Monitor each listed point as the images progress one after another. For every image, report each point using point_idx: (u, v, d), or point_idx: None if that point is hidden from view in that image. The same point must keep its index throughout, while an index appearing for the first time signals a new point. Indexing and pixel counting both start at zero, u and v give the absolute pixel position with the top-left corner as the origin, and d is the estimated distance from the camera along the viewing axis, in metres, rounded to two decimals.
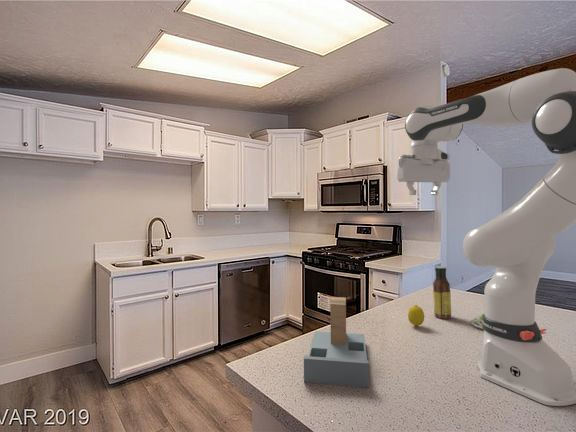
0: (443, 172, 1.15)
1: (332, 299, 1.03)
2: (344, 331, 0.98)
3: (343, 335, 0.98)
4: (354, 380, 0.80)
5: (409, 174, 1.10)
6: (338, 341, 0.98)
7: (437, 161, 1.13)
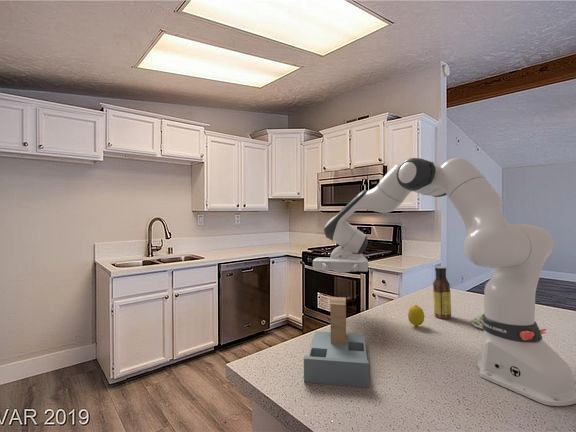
0: (359, 260, 1.20)
1: (332, 299, 1.03)
2: (344, 331, 0.98)
3: (343, 335, 0.98)
4: (354, 380, 0.80)
5: (319, 259, 1.22)
6: (338, 341, 0.98)
7: (349, 255, 1.24)
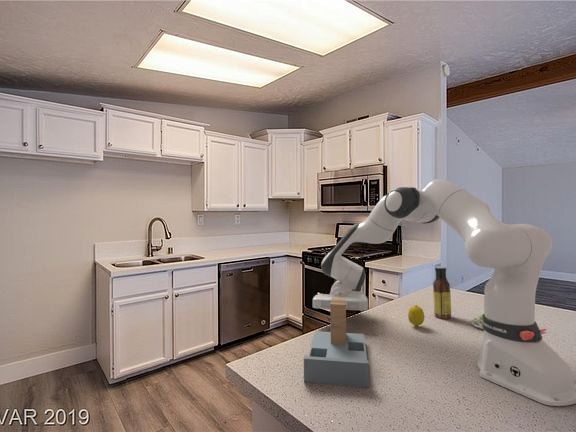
0: (359, 298, 1.20)
1: (332, 299, 1.03)
2: (344, 331, 0.98)
3: (343, 335, 0.98)
4: (354, 380, 0.80)
5: (319, 297, 1.23)
6: (338, 341, 0.98)
7: (349, 293, 1.25)
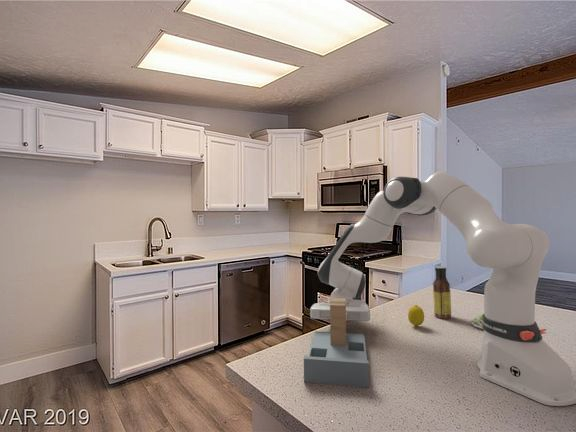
0: (360, 307, 1.11)
1: (332, 300, 1.02)
2: (344, 332, 0.97)
3: (342, 336, 0.97)
4: (354, 380, 0.80)
5: (317, 306, 1.14)
6: (338, 342, 0.97)
7: (350, 301, 1.16)
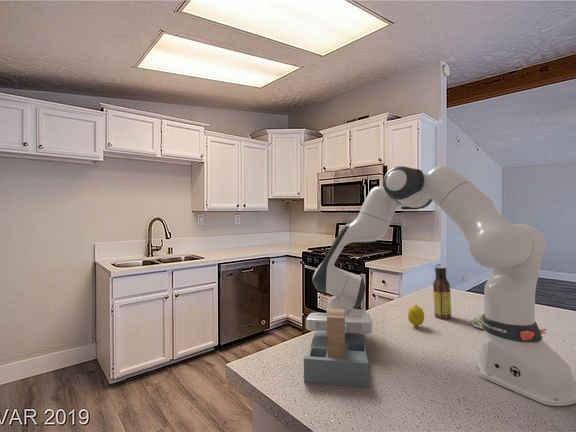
0: (361, 318, 1.01)
1: (329, 311, 0.92)
2: (343, 348, 0.86)
3: (341, 353, 0.86)
4: (354, 380, 0.80)
5: (313, 317, 1.03)
6: None
7: (349, 311, 1.05)
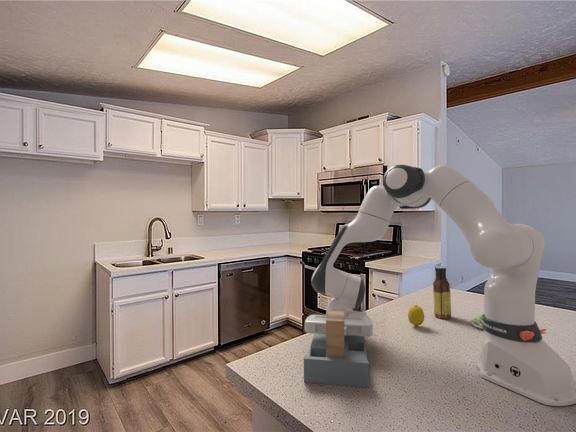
0: (361, 321, 0.98)
1: (328, 314, 0.89)
2: (342, 352, 0.84)
3: (340, 357, 0.84)
4: (354, 380, 0.80)
5: (312, 319, 1.00)
6: None
7: (349, 313, 1.03)
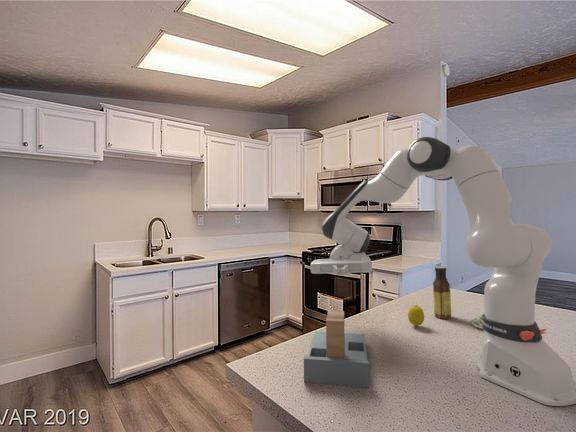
0: (361, 260, 1.09)
1: (328, 314, 0.89)
2: (342, 352, 0.84)
3: (340, 357, 0.84)
4: (354, 380, 0.80)
5: (317, 261, 1.11)
6: None
7: (350, 255, 1.13)
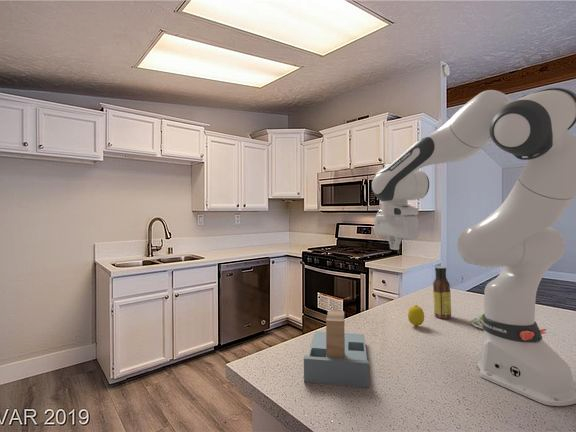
0: (403, 228, 1.07)
1: (328, 314, 0.89)
2: (342, 352, 0.84)
3: (340, 357, 0.84)
4: (354, 380, 0.80)
5: (377, 228, 1.21)
6: None
7: (394, 216, 1.10)
